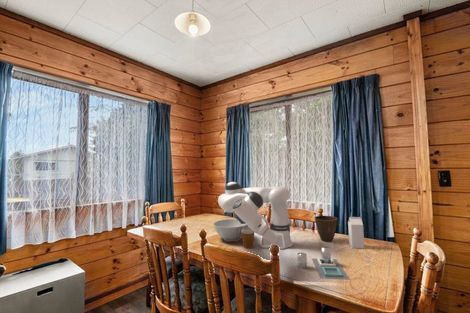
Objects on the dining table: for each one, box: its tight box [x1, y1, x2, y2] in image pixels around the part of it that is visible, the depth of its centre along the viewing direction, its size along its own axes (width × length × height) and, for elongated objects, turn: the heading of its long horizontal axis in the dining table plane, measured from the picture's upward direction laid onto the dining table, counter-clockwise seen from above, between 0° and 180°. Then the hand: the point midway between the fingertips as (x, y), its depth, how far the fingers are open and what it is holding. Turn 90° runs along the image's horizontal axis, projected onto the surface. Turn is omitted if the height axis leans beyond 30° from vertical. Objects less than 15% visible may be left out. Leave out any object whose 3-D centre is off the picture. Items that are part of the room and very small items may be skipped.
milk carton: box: [347, 216, 365, 249], centre depth 151 cm, size 7×7×19 cm
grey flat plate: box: [311, 258, 351, 283], centre depth 117 cm, size 13×23×2 cm, turn 171°
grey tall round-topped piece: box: [320, 246, 332, 264], centre depth 122 cm, size 4×4×8 cm
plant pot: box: [314, 215, 338, 243], centre depth 164 cm, size 15×15×16 cm
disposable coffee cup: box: [241, 227, 256, 249], centre depth 155 cm, size 10×10×12 cm
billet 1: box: [297, 252, 308, 270], centre depth 119 cm, size 4×4×8 cm
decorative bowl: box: [213, 218, 249, 242], centre depth 173 cm, size 27×27×12 cm
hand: (278, 243), depth 118 cm, fingers open, 8 cm apart
